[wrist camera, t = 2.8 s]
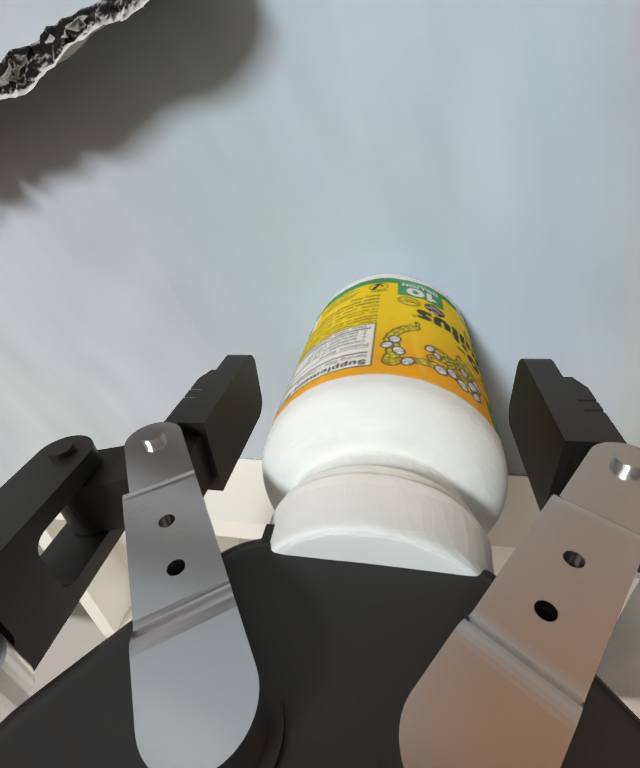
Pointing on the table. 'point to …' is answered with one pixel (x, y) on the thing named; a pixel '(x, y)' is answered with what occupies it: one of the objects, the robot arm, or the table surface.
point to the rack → (248, 521)
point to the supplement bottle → (387, 437)
